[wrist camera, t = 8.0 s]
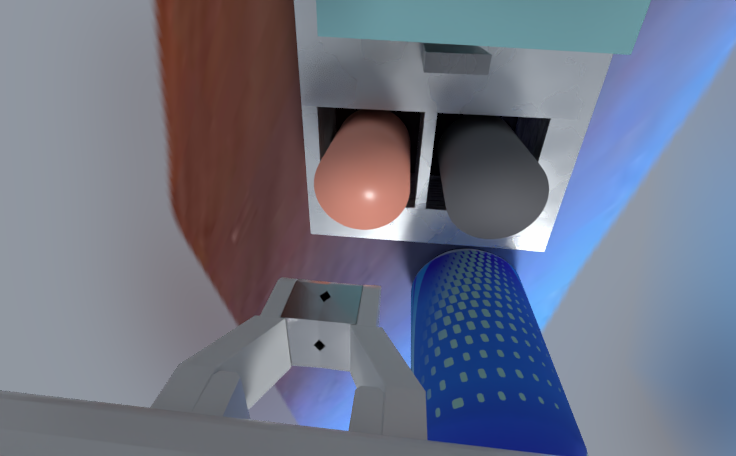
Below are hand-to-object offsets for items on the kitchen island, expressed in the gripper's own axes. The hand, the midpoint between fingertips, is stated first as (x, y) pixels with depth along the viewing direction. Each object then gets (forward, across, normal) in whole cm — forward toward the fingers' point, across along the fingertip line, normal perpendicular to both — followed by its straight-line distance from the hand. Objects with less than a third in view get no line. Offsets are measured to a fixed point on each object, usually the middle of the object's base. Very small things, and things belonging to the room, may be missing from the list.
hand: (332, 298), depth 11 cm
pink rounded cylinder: (+13, 0, 0) cm, 13 cm away
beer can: (+16, -8, +12) cm, 21 cm away
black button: (+13, -6, 0) cm, 14 cm away
